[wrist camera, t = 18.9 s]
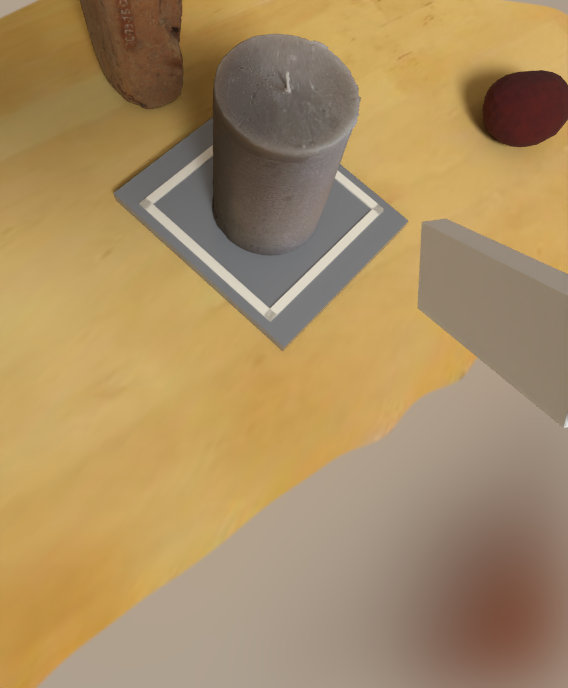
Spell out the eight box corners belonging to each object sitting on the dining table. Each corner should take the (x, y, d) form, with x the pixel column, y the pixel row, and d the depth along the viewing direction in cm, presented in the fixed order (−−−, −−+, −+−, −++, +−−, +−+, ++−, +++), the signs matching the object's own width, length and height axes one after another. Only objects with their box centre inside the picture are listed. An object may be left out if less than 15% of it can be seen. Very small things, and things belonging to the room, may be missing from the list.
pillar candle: (194, 230, 45) (185, 100, 31) (238, 145, 48) (248, -8, 34) (299, 273, 45) (338, 163, 31) (336, 185, 48) (387, 50, 34)
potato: (463, 101, 55) (492, 53, 49) (542, 99, 56) (578, 52, 50) (482, 162, 52) (514, 119, 47) (562, 158, 54) (603, 116, 48)
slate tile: (115, 199, 46) (113, 191, 45) (248, 97, 52) (249, 87, 50) (282, 351, 44) (284, 346, 43) (404, 226, 49) (409, 219, 48)
